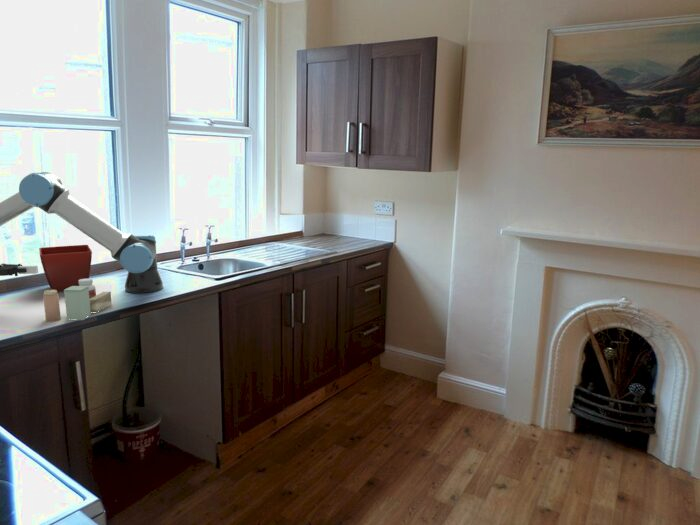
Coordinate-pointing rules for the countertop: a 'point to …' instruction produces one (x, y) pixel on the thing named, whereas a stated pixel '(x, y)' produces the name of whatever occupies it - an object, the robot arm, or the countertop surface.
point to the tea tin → (77, 302)
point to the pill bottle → (91, 287)
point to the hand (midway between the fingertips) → (36, 269)
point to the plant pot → (65, 265)
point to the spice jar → (51, 305)
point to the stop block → (100, 301)
